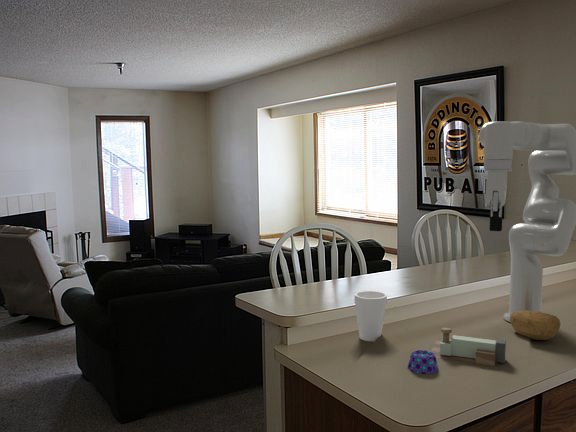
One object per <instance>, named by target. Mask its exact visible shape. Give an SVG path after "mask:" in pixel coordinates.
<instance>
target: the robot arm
mask: <svg viewBox="0 0 576 432" xmlns="http://www.w3.org/2000/svg"><path fill="white" fill-rule="evenodd" d="M478 138H479V142H480V144H481V146H482V147H483V148H484V150H483V152H484V153H483V172H486V174H487V175H486V179H485V180H486V182H485V198H484V200H485V201H484V206H485V207H486V208H487V207H489V206H490V216H489V231H490V232H501V231H502V230H503V207H504V206H505V204H506V199H507V191H508V172H513V162H514V161H513V154H514V150H515V151H532V152H531V153H530V154H529V157H528V161H527V164H528V166H527V167H528V172H529V178H530V182H531V190H530V192H529V195H528V198H527V200H526V202H525V206H524V208H523V211H522V218H523V219H522V220H523V221H524V222H521V223H516V224H513V225H512V226H511V227H510V229H509V232H508V243H509V251H510V279H509V303H508V307H509V308H508V312H505V313H504V314H503V320H505V321H506V322H509V323H510V316H511V314H513V313H514V312H516V311H520V310H526V311H539V312H542V301H543V300H542V297H543V277H544V275H543V274H544V273H543V271H544V269H543V268H544V266H543V264H542V261H541V260H540V259H539V257H538V256H537V255H543V256H550V257H561V256H564V255H565V253H567V251H568V248H569V245H570V243H571V239H572V238H573V237H572V236H573V234H574V231H575V227H576V203H575V202H574V201H573V200H571V199H568V198H559V195H560V189H559V187H558V186H557V184H556V182H555V181H554V180H553V179H552V178H551V177H550V176H549V175H551V176H553V175H554V176H555V175H556V176H559V175H560V176H576V128H575V127H574V126H573V125H572V124H571V123H543V124H542V123H538V122H537V123H536V122H529V121H528V122H526V121H520V120H519V121H518V120H516V121H505V120H504V121H502V120H501V121H499V120H498V121H489V122H486V123H484V124H483V125H482V127H481V128H480V130H479V135H478Z"/></svg>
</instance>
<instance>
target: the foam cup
mask: <svg viewBox="0 0 576 432" xmlns="http://www.w3.org/2000/svg"><path fill="white" fill-rule="evenodd" d="M387 297H388V294H387V293H385V292H382V291H376V290H363V291H362V290H361V291H357V292H355V293H354V304H355V312H356V321H357V329H358V335H359V339H360V340H363V341H366V342H376V341H377V340H378V338H379V337H381V336H382V333H383V327H384V320H385V315H386V313H385V311H386V306H387V303H388V298H387Z"/></svg>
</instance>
